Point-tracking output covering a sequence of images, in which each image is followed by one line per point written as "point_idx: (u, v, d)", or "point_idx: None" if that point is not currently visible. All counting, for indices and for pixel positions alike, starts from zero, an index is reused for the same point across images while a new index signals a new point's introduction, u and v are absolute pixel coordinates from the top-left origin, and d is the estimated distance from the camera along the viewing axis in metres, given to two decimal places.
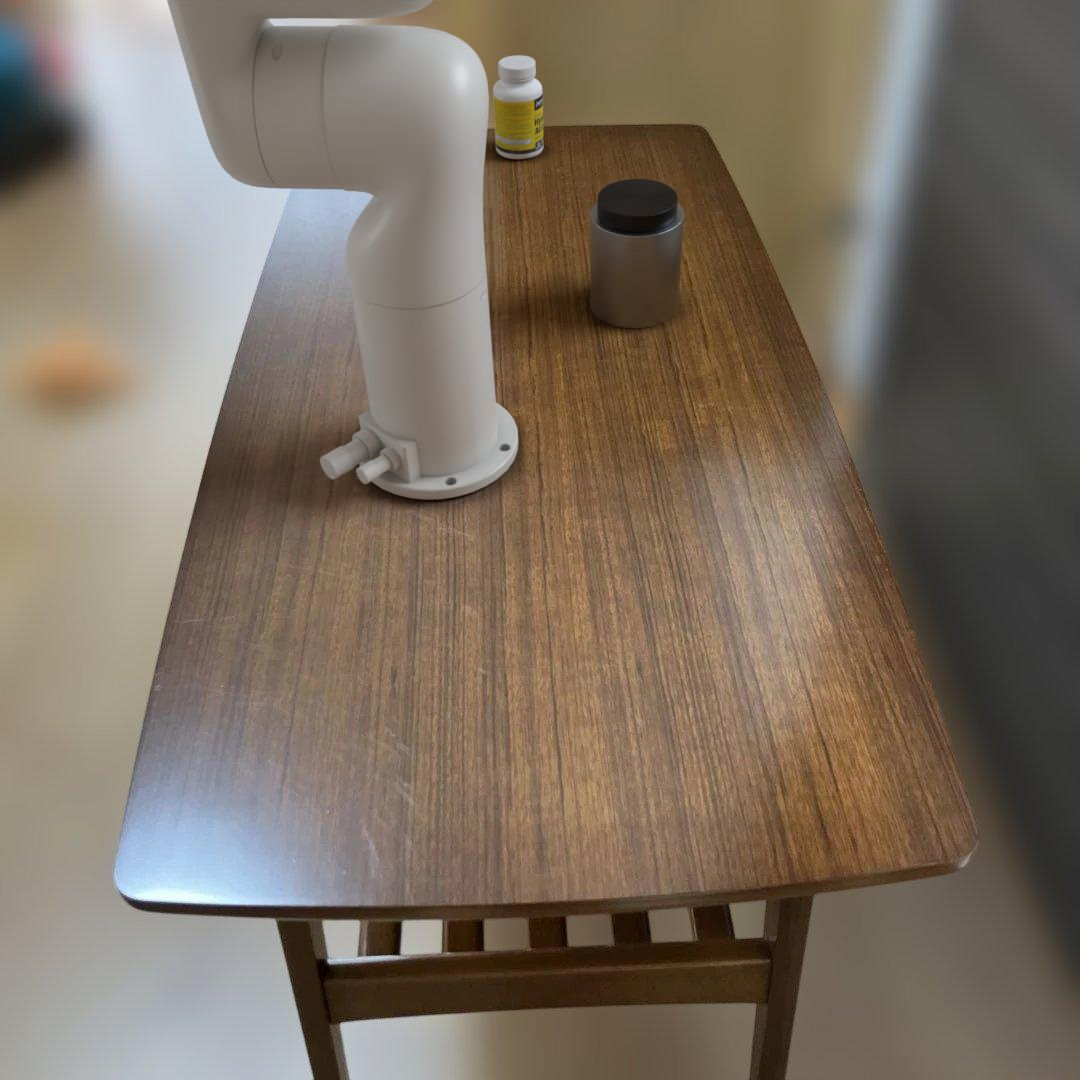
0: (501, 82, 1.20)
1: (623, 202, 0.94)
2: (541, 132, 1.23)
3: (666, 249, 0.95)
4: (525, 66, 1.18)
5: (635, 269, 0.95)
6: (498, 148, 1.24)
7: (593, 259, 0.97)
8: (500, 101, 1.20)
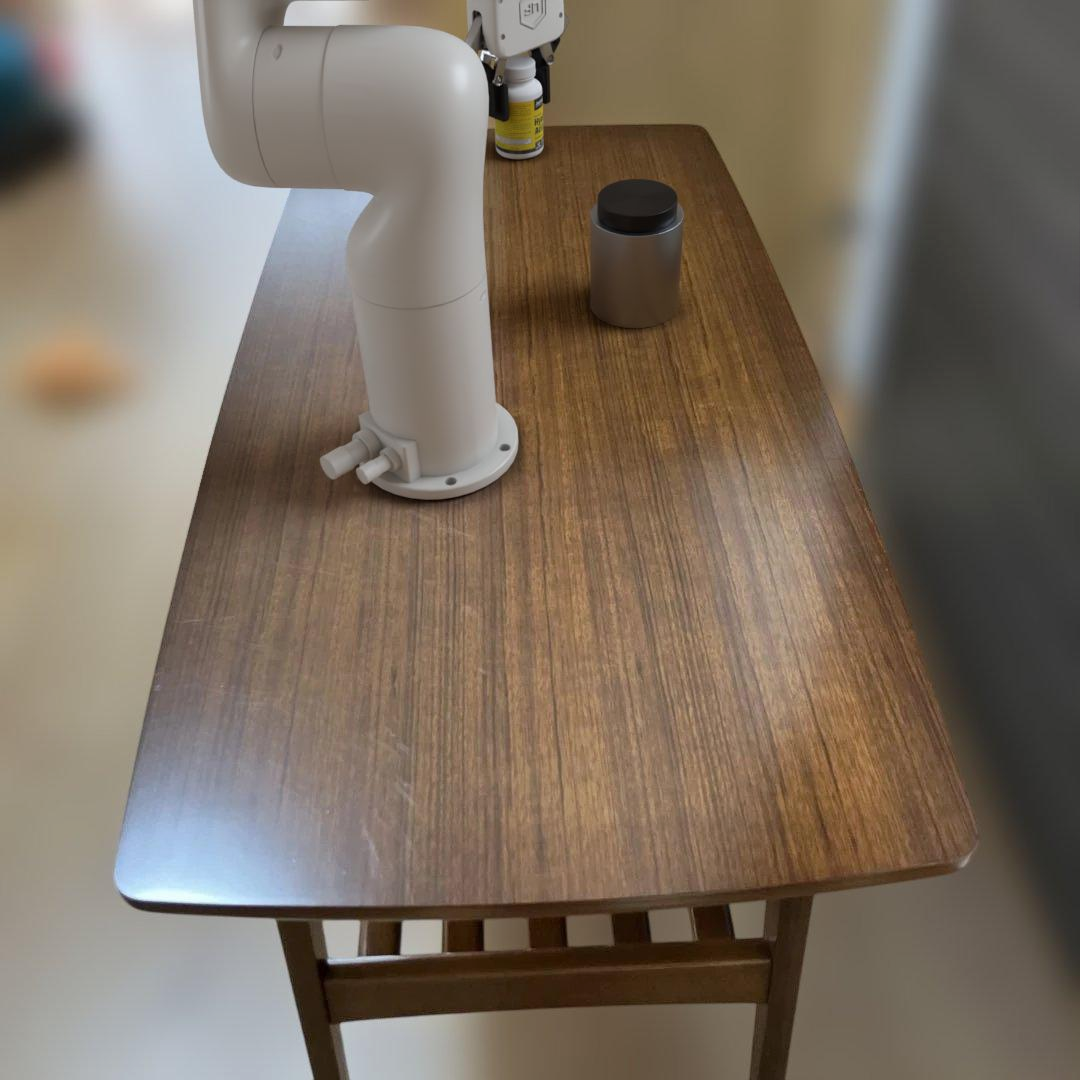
0: None
1: (623, 202, 0.94)
2: (541, 132, 1.23)
3: (666, 249, 0.95)
4: (525, 66, 1.18)
5: (635, 269, 0.95)
6: (498, 148, 1.24)
7: (593, 259, 0.97)
8: None
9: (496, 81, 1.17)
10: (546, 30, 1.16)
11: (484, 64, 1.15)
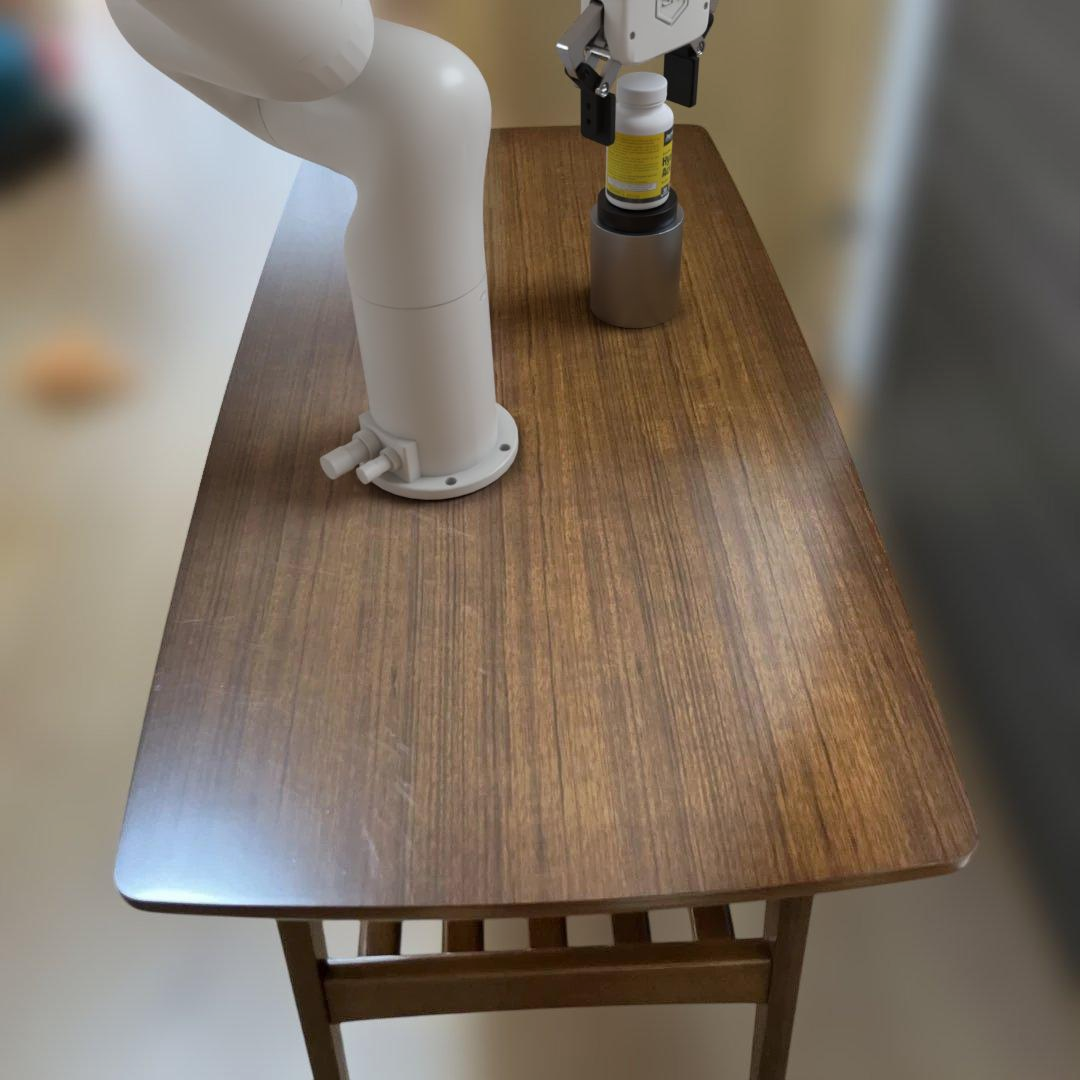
0: (619, 108, 0.89)
1: None
2: (669, 174, 0.92)
3: (666, 249, 0.95)
4: (655, 87, 0.87)
5: (635, 269, 0.95)
6: (610, 194, 0.93)
7: (593, 259, 0.97)
8: (619, 133, 0.89)
9: (601, 89, 0.84)
10: (687, 26, 0.85)
11: (586, 66, 0.82)
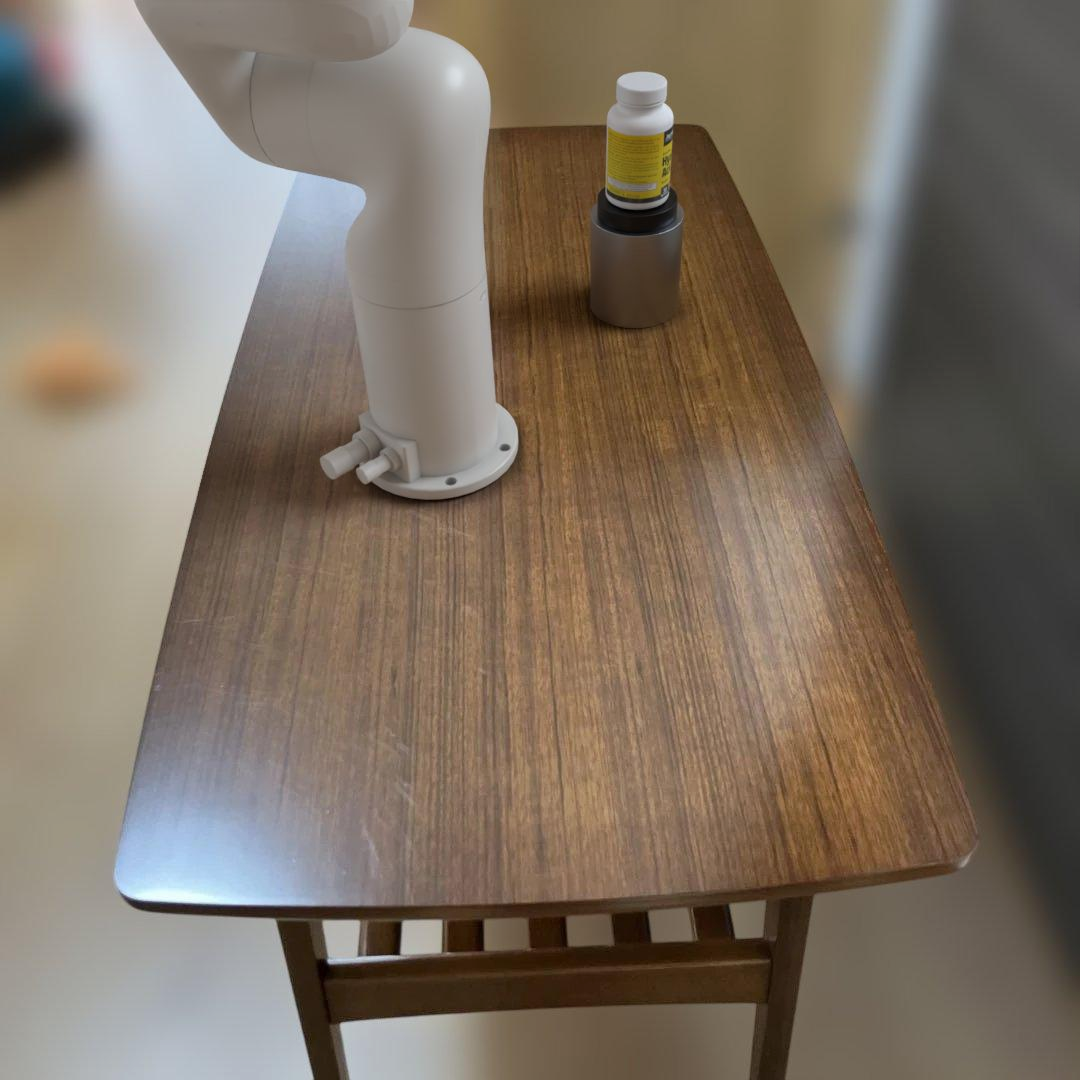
0: (619, 108, 0.89)
1: None
2: (669, 174, 0.92)
3: (666, 249, 0.95)
4: (655, 87, 0.87)
5: (635, 269, 0.95)
6: (610, 194, 0.93)
7: (593, 259, 0.97)
8: (619, 133, 0.89)
9: None
10: None
11: None
